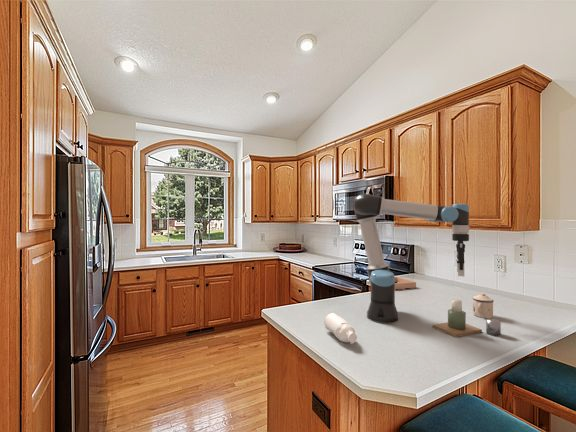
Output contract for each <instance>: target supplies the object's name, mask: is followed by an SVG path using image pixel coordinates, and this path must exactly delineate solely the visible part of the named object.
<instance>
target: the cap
mask: <svg viewBox="0 0 576 432" xmlns="http://www.w3.org/2000/svg"><path fill="white" fill-rule="evenodd" d="M485 320H486V321H485V322H486V323H485V325H486V326H485V330H486V331H485V333H486V334H487V335H489V336H493V337H501V335H502V334H501V333H502V331H501V330H502V329H501V328H502V326H501V323H502V322H501V320H500V319H497V318H485Z"/></svg>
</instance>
